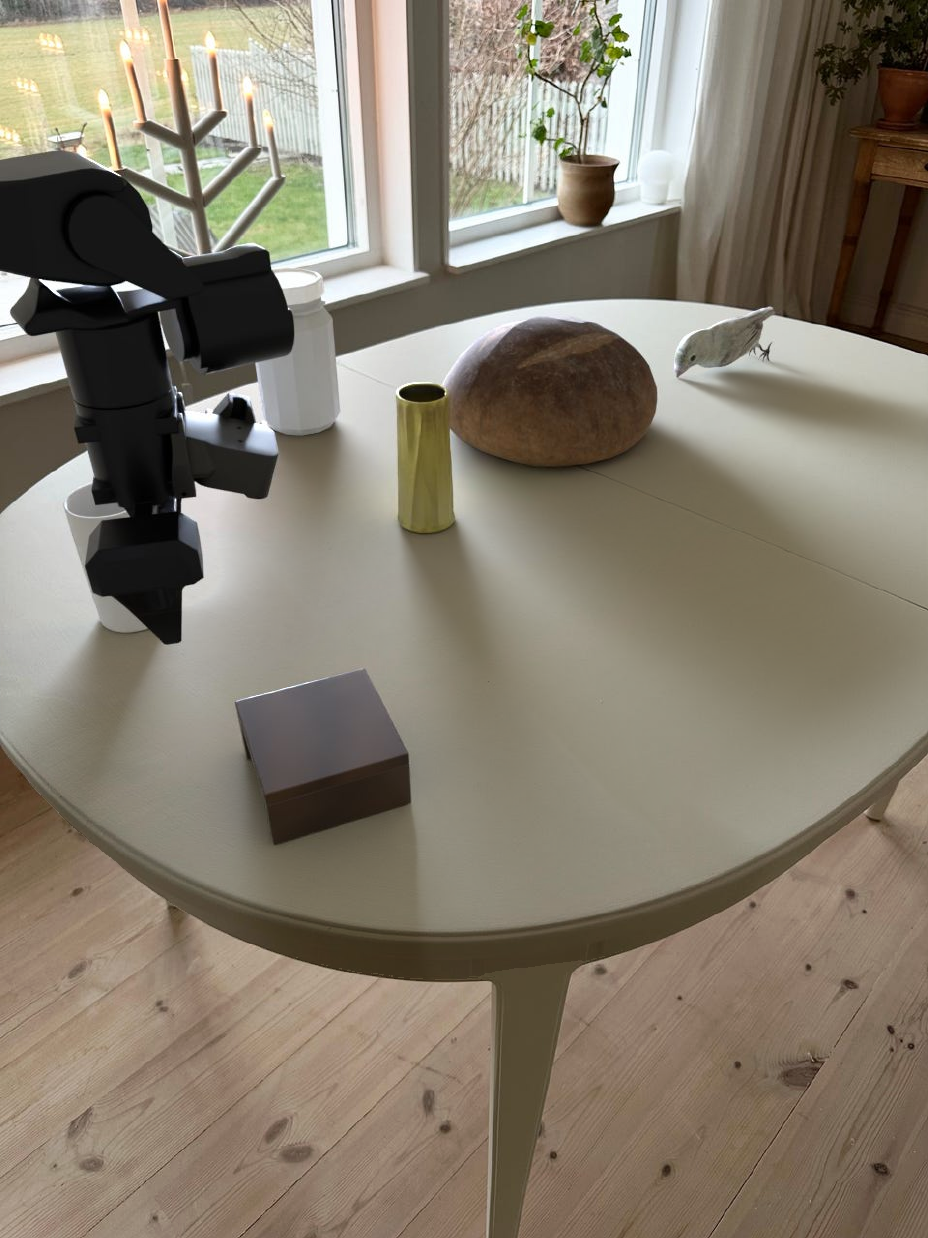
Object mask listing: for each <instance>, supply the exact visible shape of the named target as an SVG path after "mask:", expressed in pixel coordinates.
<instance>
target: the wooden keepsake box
mask: <svg viewBox="0 0 928 1238" xmlns="http://www.w3.org/2000/svg"><path fill="white" fill-rule="evenodd" d="M234 707H235V711H236V716H237V721H238V726H239V731H240V736H241V740H242V746H243V751H244V754H245V757H246V760H247V761H249V760H251V761H252V764H253V767H254V771H255V773H256V777H257V781H258V783H259V787H260V790H261V793H262V798H263V801H264V802H263V803H264V808H265V813H266V818H267V824H268V829H269V834H270V837H271V841H272V844H273V845H274V846H276V845H279V844H280V845H281V844H282V843H286V842H290V841H292V840H295V839H299V838H302V837H305V836H309V835H312V834H316V833H319V832H322V831H324V830H328V829H331V828H334V827H338V826H341V825H344V824H347V823H350V822H354V821H358V820H361V819H364V818H367V817H371V816H373V815H377V814H380V813H384V812H386V811H390V810H393V809H396V808H399V807H402V806H403V807H404V806H406V805H409V804H411V803H412V794H411V793H412V790H411V789H412V788H411V772H410V753H409V751H408V749H407V748H406V746H405V744H404V742H403V739H402V738H401V736H400V734H399V731H398V730H397V727H396V726H395V724H394V722H393V720H392V718H391V717H390V714H389V713H388V710H387V708H386V707H385V704H384V703H383V701H382V699H381V697H380V695H379V692H378V691H377V689H376V687H375V685H374V683H373V681H372V678H371V677H370V675H369V673H368V671H367V669H366V668H365V667H363V668H359V669H355V670H352V671H348V672H344V673H340V674H336V675H332V676H328V677H324V678H320V679H316V680H313V681H309V682H305V683H301V684H297V685H293V686H290V687H285V688H281V689H277V690H273V691H270V692H265V693H262V694H258V695H257V694H256V695H254V696H250V697H246V698H243V699H238V700H235V701H234Z"/></svg>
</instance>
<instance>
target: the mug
mask: <svg viewBox="0 0 928 1238" xmlns="http://www.w3.org/2000/svg"><path fill="white" fill-rule="evenodd" d="M92 483H93V482H90V483H89V482H88V483H87V484H84V485H82V486H79V487H77V488H75V489H74V490H73V491H71V492H69V494H67V496H66V497H65V498H64V500H63V502H62V503H63V504H62V507H63V509H64V513H65V517H66V520H67V524H68V528H69V530H70V533H71V536H72V540H73V543H74V545H75V549H76V551H77V555H78V557H79V560H80V564H81V566H82V570H83V573H84V576H85V579H86V582H87V585H88V588H89V592H90V595H91V598H92V601H93V603H94V606H95V609H96V611H97V615H98V618H99V620H100V623H101V624H102V626H103V627H105V628H106V629H108V630H109V631H112V632H115V633H124V634H125V633H126V634H127V633H137V632H142V631H146V630H149V629H148V628H147V627H146V626H145V625H144V624H143V623H142V622H141V621H140V620H139V619H138V618H137V617H136V616H134V615H133V614H132V613H131V612H130V611H129V610H128V609H127V608H126V607H124V606H123V605H122V604H121V603H119V602H118V601H117V600H116V599H115V598H113V597H112V596H106V597H101V596H99V595H96V594H94V593H93V592H92V589H91V586H90V582H89V579H88V576H87V572H86V569H85V561H86V554H87V547H88V540H89V535H90V534H91V533H92V532H93V530H94V529H95V528H96V527H97V525H98V524H99V523H100V522H101V521H102V520H109V519H117V518H126V517H130V516H129V515H128V513H127V512H126V510H125V509H124V508H123V507H119V506H118V503H110V504H102V505H95V502H94V499H93V495H92V491H91V490H92Z"/></svg>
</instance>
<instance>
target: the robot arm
mask: <svg viewBox="0 0 928 1238" xmlns="http://www.w3.org/2000/svg"><path fill="white" fill-rule="evenodd" d="M153 230H154V226H153V222H152V218H151V213H150V209H149V207H148V205H147V203H146V201H145V200H144V198H143V197H142V195H141V193H140V192H139V191H138V190H137V188H135V187H134V186H133V185H132V183H130V182H129V181H128V180H127V179H126V178H125V177H124V176H122V175H120V174H118V173H116V172H114V171H113V170H111V169H109V168H107V167H105V166H103V165H101V164H100V163H98V162H96V161H94V160H93V159H90V158H88V157H86V156H84V155H82V154H80V153H78V152H73V151H68V150H63V149H61V150H48V151H44V152H37V153H31V154H25V155H20V156H15V157H14V156H13V157H8V158H3V159H2V158H1V159H0V272H3V273H7V274H12V275H17V276H22V277H25V278H30V279H29V281H28V285H27V288H26V290H25V291H24V293H23V294H22V295H21V296H20V297H19V298H18V299H17V301H16V302H15V303H14V304H13V306H11V308H9V309H10V310H9V314H10V316H11V318H12V319H13V320H14V322H16V324H17V325H18V326H19V327H20V328H21V329H22V331H24V333H25V334H26V335H27V336H29V337H37V336H43V335H47V334H53V333H55V337H56V340H57V343H58V347H59V351H60V354H61V359H62V362H63V366H64V369H65V374H66V378H67V381H68V384H69V385H68V386H69V388H70V392H71V395H72V400H73V404H74V407H75V411H76V415H75V420H74V425H73V429H74V433H75V437H76V440H77V443H78V445H79V444H85V447H86V451H87V454H88V458H89V462H90V467H91V469H92V473H93V477H92V482H91V483H92V490H91V491H92V495H93V499H94V502H95V505H102V504H110V503H118V506H119V507H123V508H124V509H125V510H126V512H127V513H128V515H129V516H130V517H126V518H117V519H109V520H102V521H101V522H100V523H99V524H98V525H97V527H96V528H95V529H94V530H93V532H92V533H91V534H90V535H89V540H88V547H87V554H86V561H85V569H86V572H87V576H88V579H89V582H90V586H91V589H92V592H93V593H94V594H96V595H99V596H101V597H106V596H112V597H113V598H115V599H116V600H117V601H118V602H119V603H121V604H122V605H123V606H124V607H126V608H127V609H128V610H129V611H130V612H131V613H132V614H133V615H134V616H136V617H137V618H138V619H139V620H140V621H141V622H142V623H143V624H144V625H145V626H146V627H147V628H148V629H147V630H148V631H150V632H151V633H152V634H153V635H154V636H155V637H156V638H157V639H158V640H159V641H160V642H161V643H163V645H166V646H167V645H175V644H180V643H181V642H182V637H183V635H182V632H183V629H182V627H183V625H182V624H183V590H184V589H185V587H188V586H193V585H195V584H197V583H198V582H200V581H201V580H203V579H204V578H205V576H204V575H205V574H204V558H203V548H202V540H201V535H200V530H199V524H198V522H197V521H196V520H194V519H193V518H191V517H189V516H187V515H186V514H184V513H182V501H183V499H191V498H197V486H196V483H197V484H198V485H200V486H201V487H205V488H208V489H213V490H219V491H225V492H230V493H234V494H239V495H244V496H245V497H246V498H247V499H250V500H251V499H252V500H265V499H267V498H268V496H269V493H270V489H271V485H272V482H273V478H274V474H275V470H276V466H277V462H278V459H279V454H280V451H279V446H278V442H277V437H276V433H275V430H274V429H272V428H271V427H270V426H269V425H268V424H267V422H266V421H265V420H261V421H260V423H257V419H256V415H255V412H254V408H253V404H252V401H251V398H250V397H249V396H246V395H242V394H237V393H234V392H228V393H226V395H225V396H224V397H223V398H222V399H221V400H220V401H219V403H218V404H216V406H215V407H214V409H211V408H205V412H204V413H201V412H195V411H189V410H186V405H185V400H184V395H183V392H180V391H179V392H178V389H177V386H176V385H174V384H173V381H172V374H171V370H170V366H169V360H168V355H167V350H166V345H165V341H166V344H167V346H168V348H169V350H170V352H171V355H173V358H174V359H176V361H177V362H179V363H183V362H187V361H189V364H190V365H191V366H192V368H193V369H194V370H195V371H196V372H197V374H199V375H202V376H205V375H209V374H213V373H217V372H223V371H226V370H230V369H231V370H232V369H234V368H239V367H244V366H248V365H252V364H255V363H257V362H261V361H266V360H270V359H275V358H279V357H283V356H286V355H289V354H290V352H291V351H292V348H293V344H294V320H293V314H292V311H291V310H290V309H289V308H288V306H287V302H286V298H285V296H284V293H283V290H282V287H281V285H280V283H279V281H278V279H277V277H276V276H275V274H274V272H273V271H272V270H273V269H272V263H271V254H270V251H268V250H267V249H265V248H264V247H262V246H261V245H258V244H256V243H255V242H249V243H244V244H238V245H234V246H232V247H230V248H227V249H226V250H221V251H216V252H209V253H204V254H198V255H193V256H187V257H183V256H181V255H180V254H178V253H177V252H175V251H174V250H172V249H171V248H169V247H168V245H166V244H165V243H164V242H163V241H162V240H161V239H160V237H158V236H157V235H156V234H155V233H154V232H153ZM44 281H49V282H57V283H65V284H71V285H72V284H73V286H66V287H61V288H54V287H52V286H50V285H48V284H47V283H46V282H44ZM125 282H127V283H130V284H131V285H134V286H135V287H138V289H131V290H123V291H121V290H120V291H119V290H118V291H116V290H115V288H114V287H113V286H116V285H117V286H118V285H121V284H124V283H125ZM164 339H165V340H164Z"/></svg>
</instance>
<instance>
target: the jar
mask: <svg viewBox="0 0 928 1238" xmlns="http://www.w3.org/2000/svg"><path fill="white" fill-rule="evenodd" d="M272 271H273V272H274V274H275V276H276V277H277V279H278V281H279V283H280V285H281V287H282V290H283V293H284V296H285V298H286V302H287V306H288V308H289V309H290V310H291V311H292V314H293V320H294V344H293V348H292V351H291V352H290V354H289V355H286V356H283V357H279V358H275V359H270V360H266V361H261V362H257V363H254V364H255V369H256V378H257V385H258V392H259V398H260V399H259V400H260V405H261V412H262V413H261V414H262V417H263V419H264V421H266V422H267V424H268V427H269V428H270V429H272V430H273V431H274V432H275V431H276V432H278V433H281V434H283V435H286V436H287V435H288V436H302V437H303V436H307V435H313V434H314V435H315V434H319V433H321V432H323V431H326V430H328V429H330V428H331V427H332V426H333V424H334V423H335V421H336V420H337V418H338V417H339V415H340V413H341V403H340V392H339V380H338V371H337V370H338V369H337V357H336V356H337V355H336V345H335V333H334V332H335V331H334V323H333V322H334V321H333V317H332V315H331V314H330V313H329V312H328V310H327V309H326V308H325V307H324V306H325V305H326V300H325V299H324V298H323V297H322V295H324V293H325V289H324V288H325V286H324V277H323V276H322V275H321V274H320V273H319V272H318V271H315V270H311V269H308V268H300V267H297V268H296V267H292V268H291V267H283V268H275V269H272Z"/></svg>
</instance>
